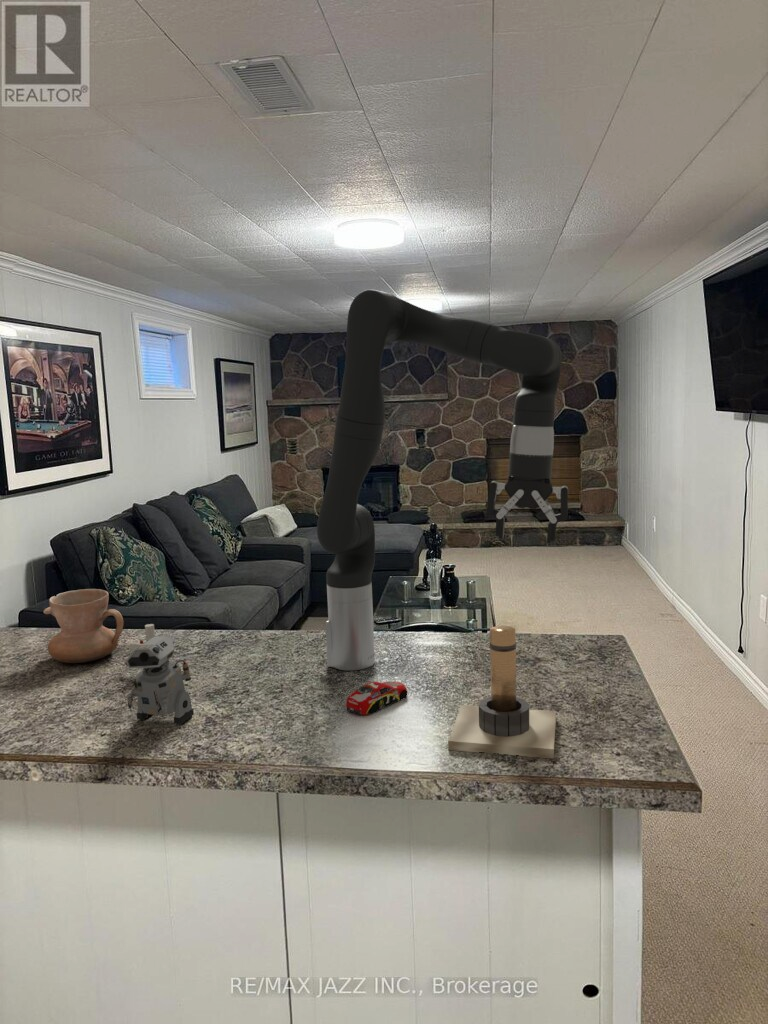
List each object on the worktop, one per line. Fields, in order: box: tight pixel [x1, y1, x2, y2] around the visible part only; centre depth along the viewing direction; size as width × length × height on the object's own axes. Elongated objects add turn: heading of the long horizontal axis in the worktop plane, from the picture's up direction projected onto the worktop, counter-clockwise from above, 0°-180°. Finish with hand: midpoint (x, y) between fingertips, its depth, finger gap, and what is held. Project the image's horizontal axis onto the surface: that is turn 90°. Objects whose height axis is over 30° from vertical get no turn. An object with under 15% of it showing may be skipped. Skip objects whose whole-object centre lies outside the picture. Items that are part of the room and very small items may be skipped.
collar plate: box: [447, 696, 557, 760], centre depth 122 cm, size 16×14×5 cm
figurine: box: [124, 634, 195, 726], centre depth 130 cm, size 9×12×15 cm
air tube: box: [489, 625, 517, 712], centre depth 121 cm, size 4×4×16 cm
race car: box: [345, 681, 408, 715], centre depth 136 cm, size 13×5×4 cm, turn 136°
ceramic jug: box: [43, 588, 124, 664], centre depth 166 cm, size 18×14×14 cm
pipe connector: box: [128, 623, 156, 652], centre depth 156 cm, size 10×10×10 cm
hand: (525, 541), depth 136 cm, fingers open, 8 cm apart
